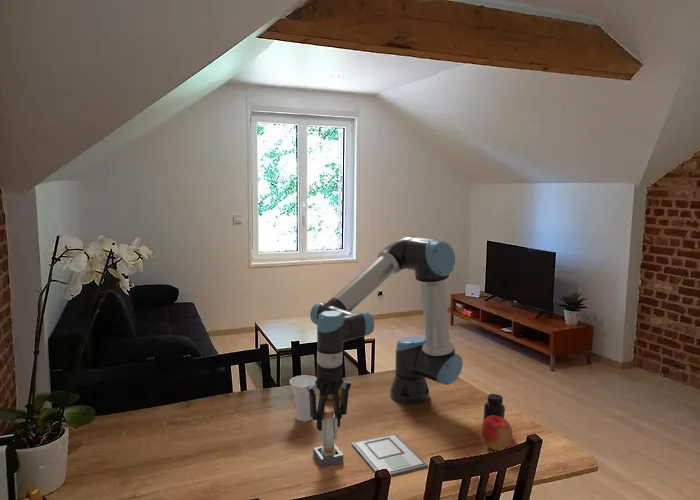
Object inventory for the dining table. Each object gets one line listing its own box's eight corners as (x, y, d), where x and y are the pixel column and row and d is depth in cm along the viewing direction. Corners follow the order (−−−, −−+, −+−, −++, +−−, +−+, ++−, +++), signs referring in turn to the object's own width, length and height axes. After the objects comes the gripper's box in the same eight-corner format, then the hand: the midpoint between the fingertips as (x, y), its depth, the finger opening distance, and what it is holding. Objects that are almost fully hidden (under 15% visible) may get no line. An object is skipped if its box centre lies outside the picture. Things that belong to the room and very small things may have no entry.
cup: (324, 414, 186) (324, 378, 184) (309, 427, 177) (310, 389, 175) (299, 408, 191) (299, 373, 189) (283, 420, 181) (283, 383, 179)
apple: (478, 452, 163) (480, 422, 162) (482, 438, 172) (484, 409, 171) (510, 459, 160) (512, 428, 158) (512, 444, 169) (515, 415, 167)
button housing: (313, 455, 159) (313, 447, 159) (334, 450, 162) (334, 443, 162) (321, 467, 153) (321, 459, 153) (343, 462, 156) (343, 454, 156)
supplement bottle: (504, 435, 174) (506, 402, 172) (483, 433, 175) (485, 399, 173) (502, 426, 181) (504, 393, 179) (482, 423, 182) (484, 391, 180)
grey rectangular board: (351, 444, 166) (351, 441, 166) (395, 435, 173) (395, 432, 173) (380, 478, 148) (380, 475, 148) (427, 466, 155) (428, 463, 154)
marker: (322, 448, 158) (321, 409, 157) (333, 447, 158) (332, 408, 158) (323, 453, 154) (322, 413, 154) (335, 452, 155) (334, 412, 155)
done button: (318, 456, 159) (318, 447, 158) (332, 453, 161) (332, 444, 160) (323, 464, 155) (324, 454, 154) (337, 461, 157) (337, 452, 156)
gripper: (307, 372, 146) (306, 449, 150) (360, 364, 153) (358, 439, 157) (299, 363, 153) (298, 437, 157) (349, 356, 160) (348, 427, 163)
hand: (328, 438), depth 157 cm, fingers closed on marker, 3 cm apart
